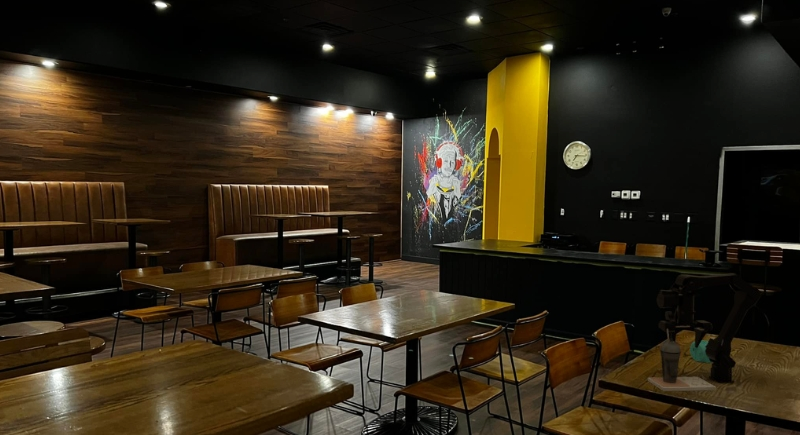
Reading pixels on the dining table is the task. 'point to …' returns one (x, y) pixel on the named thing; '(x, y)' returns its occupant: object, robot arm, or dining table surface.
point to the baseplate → (682, 384)
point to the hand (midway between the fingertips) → (684, 347)
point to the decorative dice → (699, 352)
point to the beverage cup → (670, 360)
